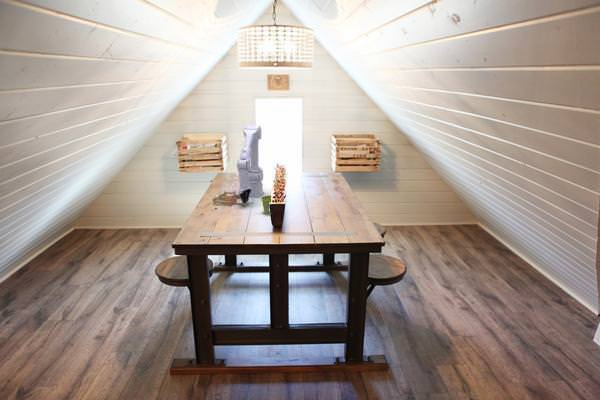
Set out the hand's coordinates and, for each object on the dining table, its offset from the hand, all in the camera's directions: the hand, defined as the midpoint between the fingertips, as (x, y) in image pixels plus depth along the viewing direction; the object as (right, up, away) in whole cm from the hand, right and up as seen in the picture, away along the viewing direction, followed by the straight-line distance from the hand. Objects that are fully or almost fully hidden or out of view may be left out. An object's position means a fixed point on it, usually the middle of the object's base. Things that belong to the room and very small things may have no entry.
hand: (245, 202), depth 266 cm
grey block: (-10, +1, +11) cm, 15 cm away
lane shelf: (-11, 0, +7) cm, 13 cm away
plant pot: (+15, -6, -13) cm, 21 cm away
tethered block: (-5, -1, +2) cm, 6 cm away
